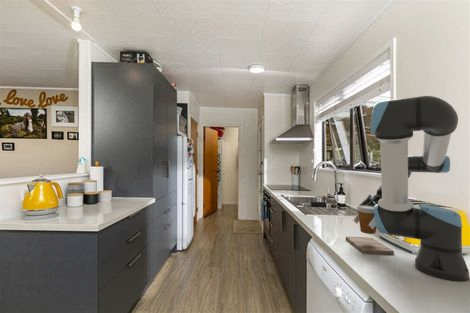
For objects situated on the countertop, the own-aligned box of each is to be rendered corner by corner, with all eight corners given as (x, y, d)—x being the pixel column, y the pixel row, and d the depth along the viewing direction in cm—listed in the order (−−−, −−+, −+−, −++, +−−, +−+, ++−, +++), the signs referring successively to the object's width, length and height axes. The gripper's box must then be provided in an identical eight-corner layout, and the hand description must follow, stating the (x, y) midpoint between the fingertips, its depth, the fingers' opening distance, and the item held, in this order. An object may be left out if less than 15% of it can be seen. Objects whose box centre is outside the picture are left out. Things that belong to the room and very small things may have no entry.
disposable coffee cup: (373, 229, 118) (373, 205, 119) (383, 235, 109) (383, 209, 109) (353, 228, 119) (353, 204, 120) (361, 234, 110) (361, 208, 110)
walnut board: (393, 254, 104) (393, 251, 104) (363, 253, 104) (363, 249, 104) (371, 240, 122) (371, 237, 123) (345, 239, 123) (345, 236, 123)
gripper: (414, 198, 108) (387, 236, 104) (374, 192, 129) (350, 223, 124) (405, 186, 107) (377, 224, 102) (366, 182, 128) (341, 214, 123)
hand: (362, 224), depth 113 cm, fingers closed on disposable coffee cup, 9 cm apart
